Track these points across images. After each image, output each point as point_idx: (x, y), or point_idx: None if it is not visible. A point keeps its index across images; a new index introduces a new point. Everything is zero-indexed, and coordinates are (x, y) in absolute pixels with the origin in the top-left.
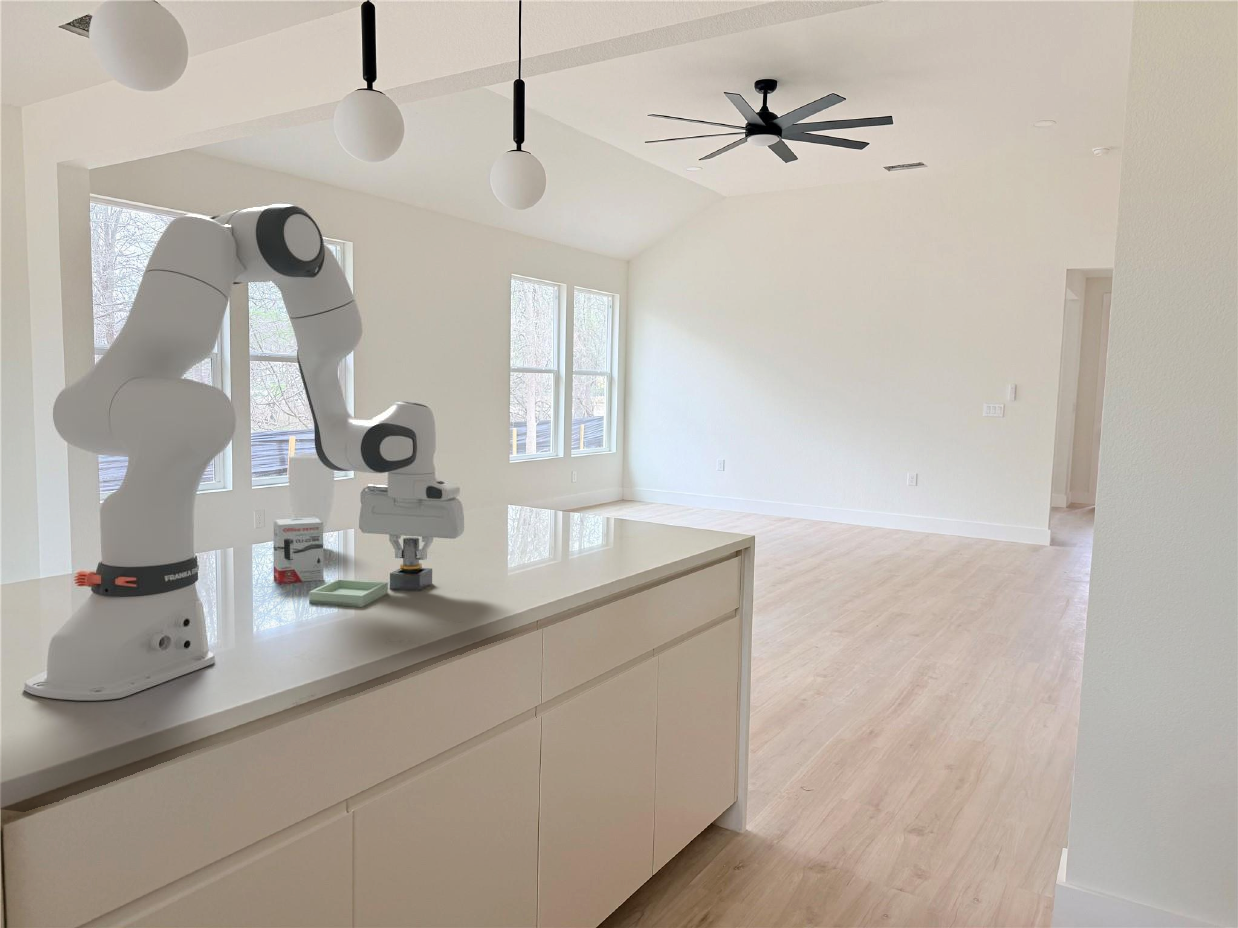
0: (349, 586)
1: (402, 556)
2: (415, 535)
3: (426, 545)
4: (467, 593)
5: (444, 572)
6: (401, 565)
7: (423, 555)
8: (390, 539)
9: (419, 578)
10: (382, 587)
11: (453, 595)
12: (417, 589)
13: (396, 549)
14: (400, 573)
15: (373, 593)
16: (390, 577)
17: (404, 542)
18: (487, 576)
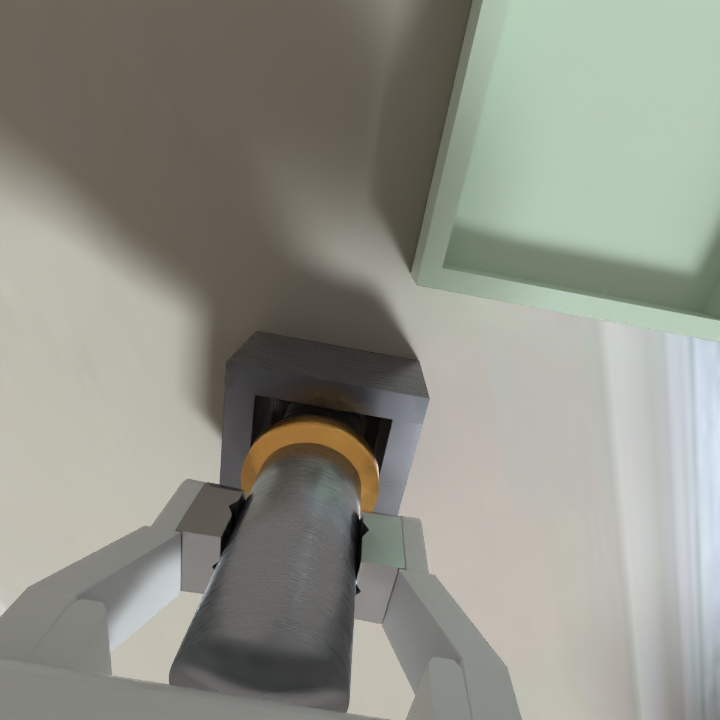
0: (645, 302)
1: (361, 520)
2: (121, 685)
3: (80, 565)
4: (5, 306)
5: None
6: (365, 463)
7: (172, 497)
8: (494, 675)
9: (235, 355)
10: (432, 205)
11: (53, 259)
12: (266, 334)
13: (412, 568)
14: (361, 399)
15: (466, 53)
16: (422, 384)
17: (322, 617)
18: None
